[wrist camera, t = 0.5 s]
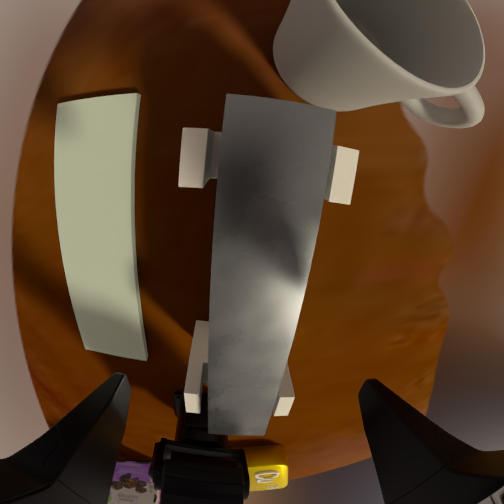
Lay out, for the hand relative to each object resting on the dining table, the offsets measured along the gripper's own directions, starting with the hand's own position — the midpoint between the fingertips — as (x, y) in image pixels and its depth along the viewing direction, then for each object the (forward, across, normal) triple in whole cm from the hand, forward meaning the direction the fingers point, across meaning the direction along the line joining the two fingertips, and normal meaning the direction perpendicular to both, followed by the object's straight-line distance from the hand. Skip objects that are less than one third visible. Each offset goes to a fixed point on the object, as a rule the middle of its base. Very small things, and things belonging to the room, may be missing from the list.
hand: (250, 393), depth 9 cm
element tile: (+14, -3, +39) cm, 41 cm away
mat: (+13, +12, 0) cm, 17 cm away
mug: (+13, -6, -15) cm, 21 cm away
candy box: (+14, +16, +47) cm, 52 cm away
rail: (+8, 0, 0) cm, 8 cm away
